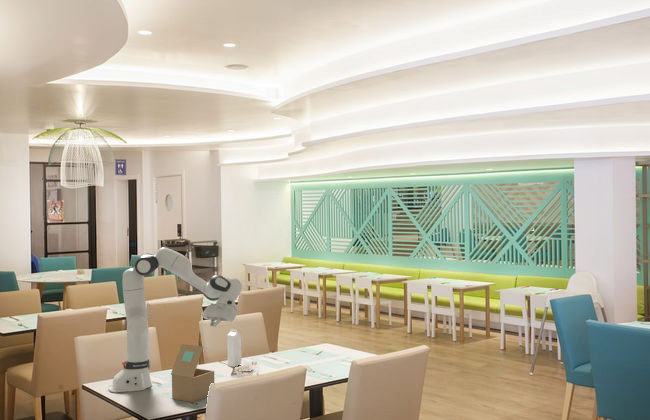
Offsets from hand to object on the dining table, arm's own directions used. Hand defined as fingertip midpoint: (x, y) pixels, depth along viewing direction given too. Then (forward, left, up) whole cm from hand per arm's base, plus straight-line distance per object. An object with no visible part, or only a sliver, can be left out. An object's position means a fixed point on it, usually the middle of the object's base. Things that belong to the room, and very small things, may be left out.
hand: (212, 325), depth 343 cm
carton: (-13, -9, -33) cm, 37 cm away
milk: (+25, +44, -34) cm, 61 cm away
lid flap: (-16, -11, -14) cm, 24 cm away
